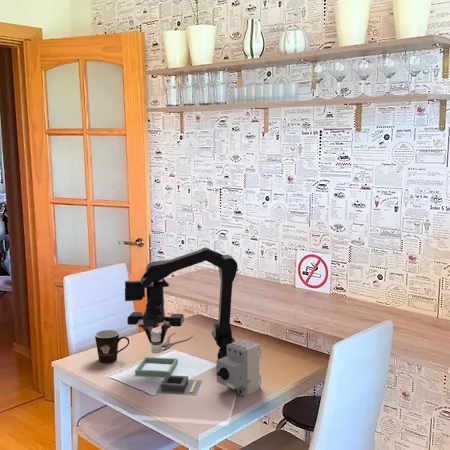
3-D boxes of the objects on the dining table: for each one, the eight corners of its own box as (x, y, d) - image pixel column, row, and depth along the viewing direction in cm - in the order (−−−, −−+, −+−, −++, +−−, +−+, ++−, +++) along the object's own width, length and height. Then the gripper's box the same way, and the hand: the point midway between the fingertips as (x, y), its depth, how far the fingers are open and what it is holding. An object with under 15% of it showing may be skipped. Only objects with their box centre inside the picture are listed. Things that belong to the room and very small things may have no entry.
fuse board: (202, 383, 190) (202, 374, 190) (196, 398, 180) (196, 389, 179) (164, 381, 192) (164, 372, 192) (155, 395, 181) (155, 386, 181)
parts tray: (177, 365, 205) (177, 358, 205) (169, 379, 193) (169, 372, 193) (145, 363, 207) (144, 356, 206) (135, 377, 195) (135, 370, 195)
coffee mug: (91, 362, 208) (89, 335, 207) (105, 354, 216) (104, 328, 214) (117, 367, 203) (116, 340, 202) (131, 358, 211) (130, 332, 209)
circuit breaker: (213, 395, 182) (212, 350, 179) (244, 381, 191) (244, 338, 189) (230, 403, 176) (229, 356, 174) (261, 388, 186) (261, 344, 184)
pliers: (194, 333, 236) (179, 351, 217) (194, 335, 236) (179, 353, 217) (171, 331, 238) (155, 349, 219) (171, 333, 238) (155, 351, 219)
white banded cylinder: (163, 349, 200) (162, 330, 199) (160, 353, 197) (160, 334, 196) (152, 349, 201) (152, 329, 200) (149, 353, 197) (149, 333, 196)
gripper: (121, 305, 189) (123, 350, 192) (176, 307, 187) (177, 353, 189) (131, 295, 200) (133, 338, 203) (184, 297, 198) (184, 341, 200)
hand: (156, 343), depth 198 cm, fingers closed on white banded cylinder, 4 cm apart
